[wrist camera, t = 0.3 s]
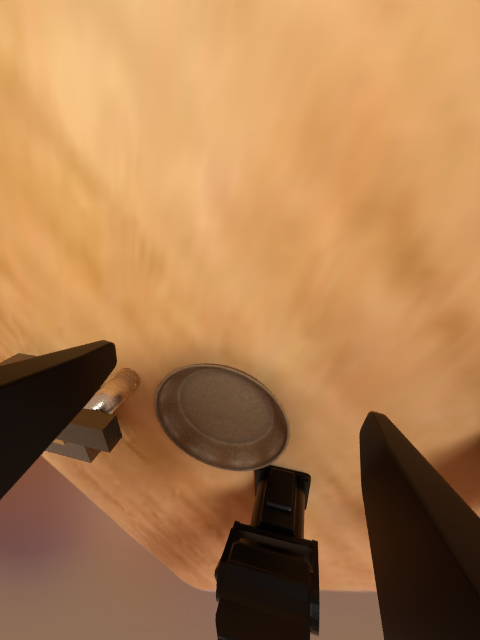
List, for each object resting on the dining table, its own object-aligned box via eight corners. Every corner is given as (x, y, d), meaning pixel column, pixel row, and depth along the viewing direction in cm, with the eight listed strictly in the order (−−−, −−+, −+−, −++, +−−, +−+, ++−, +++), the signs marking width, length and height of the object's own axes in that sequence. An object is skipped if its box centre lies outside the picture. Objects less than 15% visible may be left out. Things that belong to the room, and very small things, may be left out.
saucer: (317, 392, 26) (318, 412, 23) (258, 469, 33) (253, 490, 30) (185, 326, 26) (172, 339, 24) (155, 415, 33) (143, 432, 31)
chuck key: (158, 391, 31) (109, 452, 24) (107, 382, 33) (47, 436, 25) (154, 372, 30) (102, 430, 22) (101, 364, 31) (37, 415, 24)
